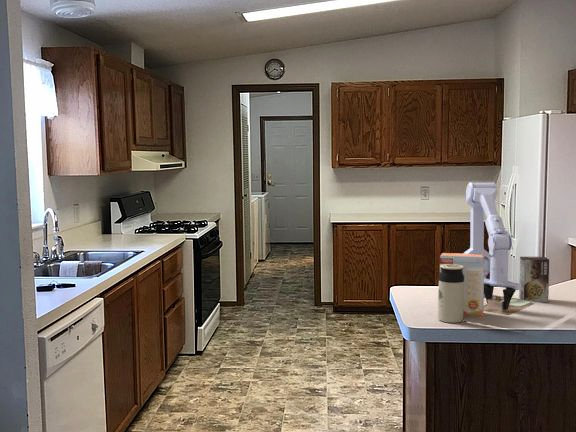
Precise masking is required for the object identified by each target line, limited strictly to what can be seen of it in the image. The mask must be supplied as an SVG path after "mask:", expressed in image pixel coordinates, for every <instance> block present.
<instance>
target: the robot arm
mask: <svg viewBox="0 0 576 432" xmlns="http://www.w3.org/2000/svg"><path fill="white" fill-rule="evenodd" d="M466 185H467V186H466V188H465V189H466V190H465V200H466V202H465V203H466V204H468V205H469V207H470V208H469V209H470V227H469V228H470V229H469V230H470V232H469V233H470V235H469V236H470V242H469V243H470V245H469V248H468V249H467V250H465V251H464V252H463V253H462V254H477V255H484V297H485V300H486V302H487V300H488V299H490V298H493V295H494V289H495V287H496V288H503V289H502V293H503V294H502V295H503V299H504V310H507V309H508V307H509V304H510V301H511V299H513V296H514V294H515V293H516V291H519V290H520V288H521V284H519V283H518V282H513V281H510V280H509V281H508V278H509V277H508V276H509V274H508V273H509V251H510V250H511V249H512V244H513V241H512V236H511V234H510V233H509V231H507V230H506V228H505V225H504V222H503V218H502V217H501V216H499V215H498V212H497V206H496V199H497V195H498V186H497V184H496V183H495V182H494V181H492V182H491V181H490V182H472V181H469V182H468V184H466ZM485 216H486V219H485ZM485 227H486V230H487V234H488V239H487V245H488V250H489V251H487V250H486V249H485V247H484V245H485V244H484V243H485V241H484V240H485V237H484V236H485V233H484V232H485ZM488 274H489V275H488ZM487 276H489V278H487Z"/></svg>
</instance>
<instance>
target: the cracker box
mask: <svg viewBox="0 0 576 432" xmlns="http://www.w3.org/2000/svg"><path fill="white" fill-rule="evenodd" d="M442 264H457V265H462V266H463V267H464V268H463V270H462V273H463V275H464V305H463V316H470V317H482V318H483V315H484V311H483V306H484V305H485V304H484V301H485V300H484V299H485V298H484V297H485V296H484V255H477V254H463V253H459V252H457V253H455V252H454V253H453V252H442V253H441V254H440V256H439V273H440V272H441V267H440V265H442Z"/></svg>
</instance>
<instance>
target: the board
mask: <svg viewBox="0 0 576 432" xmlns="http://www.w3.org/2000/svg"><path fill="white" fill-rule="evenodd" d="M495 297H496V300H498V301H501V298H502V297H501V296H500V295H495ZM533 305H535V302H534V303H533V302H532V301H526V300H520V299H515V298H511V301H510V304H509V307H508V310H506V311H503V312H498V311H493V310H487V304H483V312H486V313H487V312H488V313H492V314H499V315H505V316H510V315H513V314H515V313H517V312H519V311H521V310H524V309H526V308H529V307H530V306H533Z"/></svg>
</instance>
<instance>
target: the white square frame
mask: <svg viewBox="0 0 576 432" xmlns="http://www.w3.org/2000/svg"><path fill="white" fill-rule="evenodd" d="M486 305H487V310H493V311H498V312H503V311H506V310H504V297H501V301H498V300H496V296H494V297H493V296H492V298H490V299H488V300H487V301H486ZM507 310H508V309H507Z"/></svg>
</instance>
